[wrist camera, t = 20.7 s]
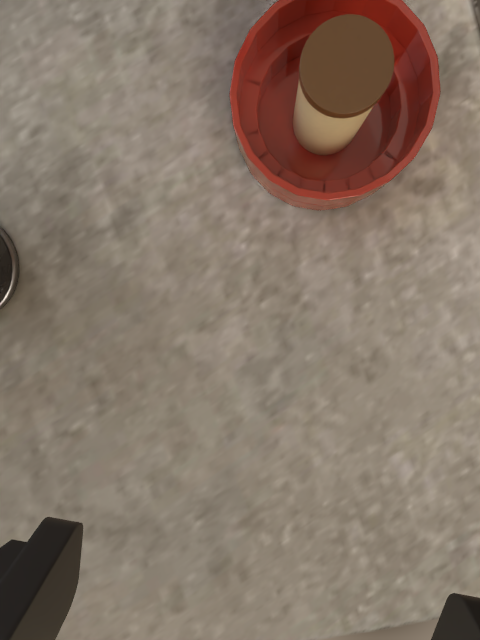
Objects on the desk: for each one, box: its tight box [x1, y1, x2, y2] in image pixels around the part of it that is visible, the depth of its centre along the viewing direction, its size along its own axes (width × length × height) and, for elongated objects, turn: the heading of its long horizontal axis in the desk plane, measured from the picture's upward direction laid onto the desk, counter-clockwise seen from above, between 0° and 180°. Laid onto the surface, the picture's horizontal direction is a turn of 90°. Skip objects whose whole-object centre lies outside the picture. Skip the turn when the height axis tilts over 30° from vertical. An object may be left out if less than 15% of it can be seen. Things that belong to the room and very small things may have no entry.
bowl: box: [230, 0, 440, 211], centre depth 30 cm, size 14×14×6 cm
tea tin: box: [293, 14, 394, 155], centre depth 28 cm, size 5×5×9 cm
